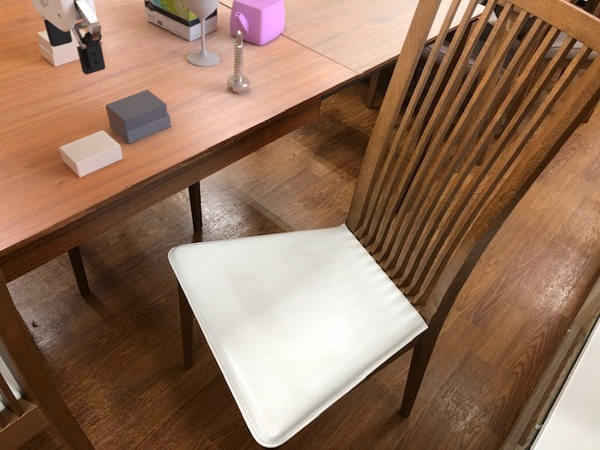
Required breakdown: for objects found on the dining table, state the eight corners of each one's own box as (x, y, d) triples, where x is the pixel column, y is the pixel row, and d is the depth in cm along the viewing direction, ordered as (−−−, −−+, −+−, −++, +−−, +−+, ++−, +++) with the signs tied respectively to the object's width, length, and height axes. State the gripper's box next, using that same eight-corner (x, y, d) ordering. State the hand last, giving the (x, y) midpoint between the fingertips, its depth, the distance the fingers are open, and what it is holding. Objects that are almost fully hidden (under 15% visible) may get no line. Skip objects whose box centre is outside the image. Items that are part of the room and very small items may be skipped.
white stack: (55, 66, 106) (49, 44, 102) (41, 55, 108) (35, 32, 105) (92, 55, 110) (88, 33, 107) (78, 44, 113) (73, 22, 109)
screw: (231, 81, 109) (252, 86, 108) (223, 93, 105) (245, 98, 105) (231, 22, 99) (254, 27, 99) (222, 32, 96) (247, 38, 95)
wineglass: (186, 66, 111) (180, -35, 96) (186, 50, 116) (180, -49, 101) (221, 67, 112) (220, -33, 97) (219, 50, 118) (218, -47, 103)
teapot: (254, 54, 118) (255, 10, 111) (217, 39, 121) (216, -4, 114) (292, 28, 130) (296, -13, 122) (258, 15, 133) (260, -25, 125)
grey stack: (128, 144, 90) (124, 120, 87) (110, 127, 93) (105, 104, 90) (171, 126, 95) (168, 103, 92) (152, 111, 98) (149, 88, 95)
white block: (79, 177, 83) (75, 163, 81) (62, 161, 86) (58, 146, 83) (122, 158, 88) (120, 145, 85) (105, 143, 90) (102, 129, 88)
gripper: (-14, -89, 64) (26, 40, 76) (49, -46, 56) (82, 91, 68) (44, -96, 68) (73, 28, 80) (111, -57, 60) (132, 74, 72)
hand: (77, 57), depth 74 cm, fingers open, 9 cm apart
